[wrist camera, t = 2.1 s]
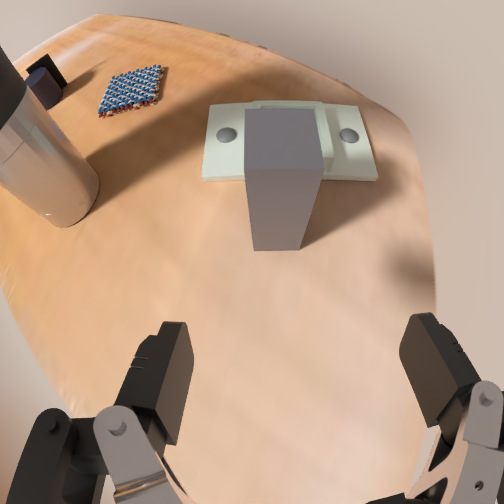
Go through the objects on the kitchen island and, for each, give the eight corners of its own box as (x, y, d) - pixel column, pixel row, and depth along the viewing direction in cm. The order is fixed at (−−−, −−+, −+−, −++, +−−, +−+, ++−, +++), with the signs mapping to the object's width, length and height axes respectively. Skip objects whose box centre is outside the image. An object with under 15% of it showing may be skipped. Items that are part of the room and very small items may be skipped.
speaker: (47, 92, 42) (27, 63, 32) (68, 83, 42) (48, 51, 32) (39, 117, 40) (14, 87, 30) (60, 107, 41) (37, 75, 31)
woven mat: (98, 123, 37) (93, 115, 35) (113, 84, 40) (109, 76, 39) (157, 108, 37) (153, 98, 35) (166, 70, 40) (163, 61, 38)
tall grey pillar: (254, 250, 29) (243, 169, 15) (253, 204, 30) (244, 107, 17) (299, 250, 28) (324, 169, 15) (296, 204, 30) (313, 107, 17)
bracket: (203, 181, 31) (196, 164, 28) (211, 110, 35) (207, 91, 32) (375, 181, 31) (385, 164, 27) (355, 110, 34) (361, 93, 31)
